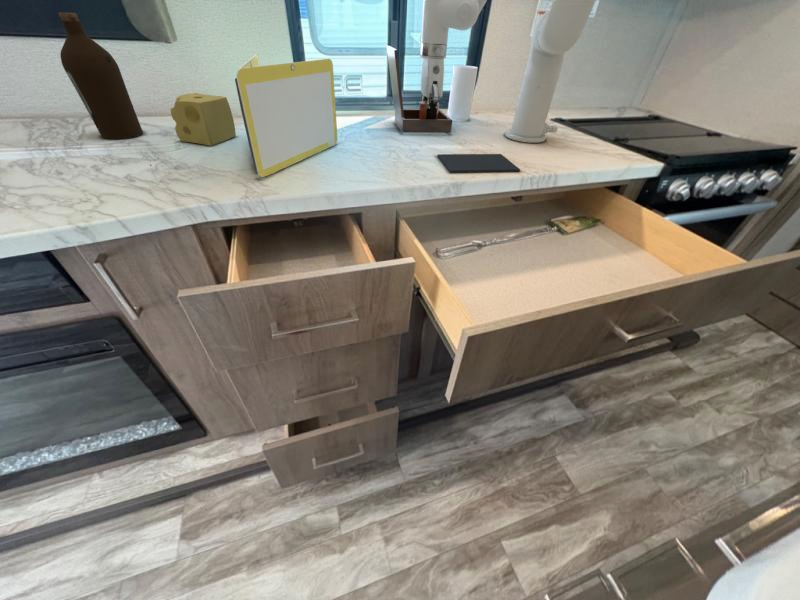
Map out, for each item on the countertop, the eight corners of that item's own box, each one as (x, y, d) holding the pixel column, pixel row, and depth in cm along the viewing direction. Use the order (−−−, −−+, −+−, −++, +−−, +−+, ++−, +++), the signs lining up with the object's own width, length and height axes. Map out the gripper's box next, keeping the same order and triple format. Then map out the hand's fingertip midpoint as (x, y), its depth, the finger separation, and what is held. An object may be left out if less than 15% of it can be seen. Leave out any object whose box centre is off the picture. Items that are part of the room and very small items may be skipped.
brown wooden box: (438, 123, 116) (440, 109, 113) (450, 135, 105) (452, 120, 103) (394, 123, 114) (395, 109, 111) (402, 135, 103) (402, 119, 100)
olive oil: (147, 128, 95) (99, 13, 79) (144, 138, 88) (92, 14, 72) (101, 131, 91) (42, 11, 75) (95, 141, 84) (28, 12, 68)
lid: (389, 45, 100) (386, 46, 100) (397, 49, 89) (394, 50, 89) (396, 107, 111) (394, 107, 111) (404, 117, 100) (401, 118, 100)
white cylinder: (468, 117, 126) (476, 66, 115) (469, 122, 119) (478, 68, 109) (446, 115, 126) (453, 64, 116) (446, 120, 120) (453, 67, 109)
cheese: (179, 141, 88) (163, 97, 81) (208, 131, 96) (196, 91, 89) (212, 147, 86) (198, 102, 79) (239, 136, 94) (229, 95, 87)
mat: (500, 156, 91) (501, 153, 91) (519, 171, 82) (520, 169, 82) (437, 156, 88) (437, 154, 88) (450, 172, 79) (450, 170, 79)
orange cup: (434, 122, 112) (436, 100, 107) (439, 127, 107) (441, 104, 103) (416, 123, 111) (417, 100, 107) (420, 127, 106) (421, 104, 102)
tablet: (258, 135, 95) (240, 50, 83) (334, 134, 100) (328, 53, 87) (245, 181, 70) (216, 68, 57) (349, 177, 74) (343, 71, 62)
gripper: (454, 54, 90) (446, 126, 102) (438, 49, 103) (432, 114, 115) (427, 53, 89) (422, 127, 101) (414, 48, 102) (411, 114, 114)
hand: (428, 119), depth 108 cm, fingers closed on orange cup, 6 cm apart
